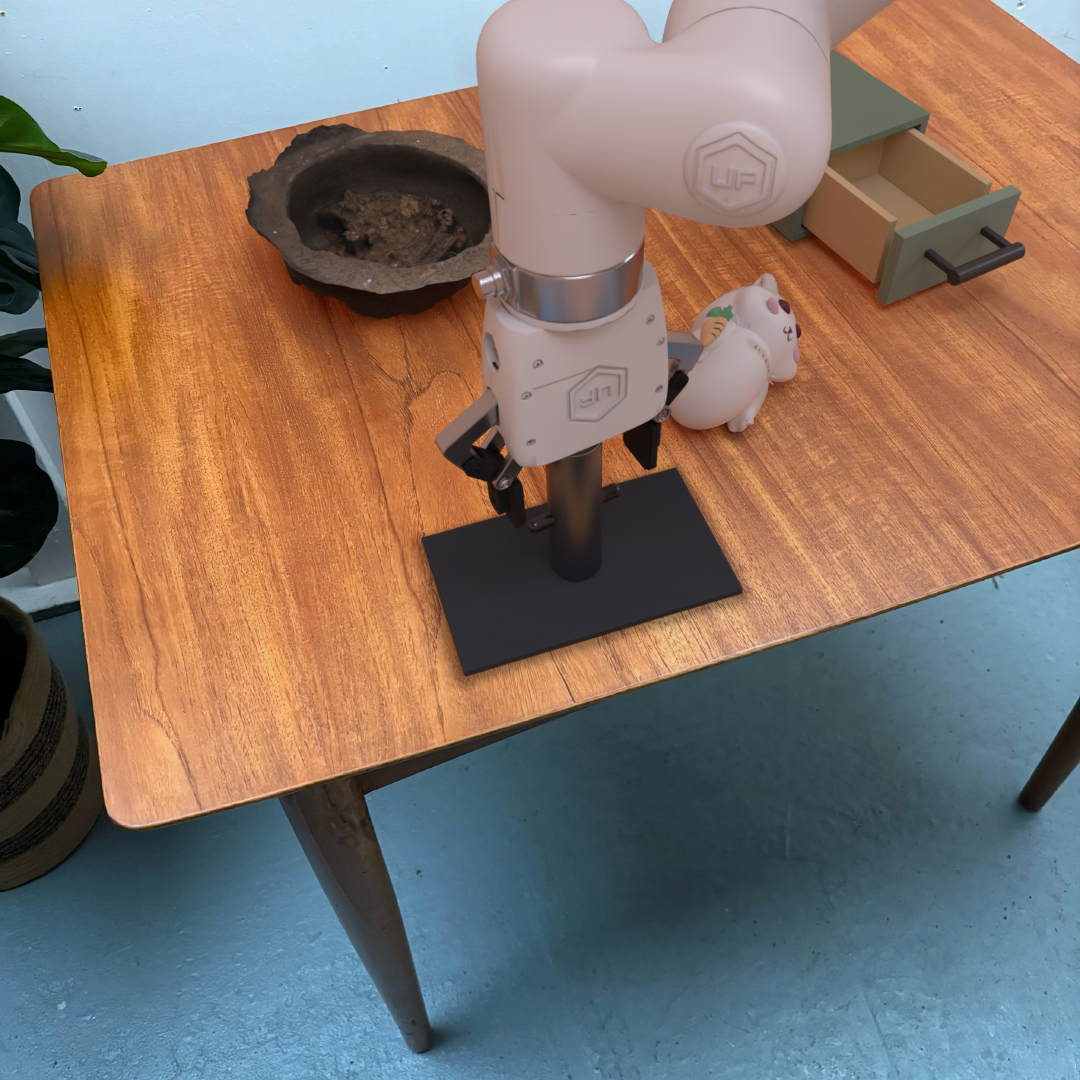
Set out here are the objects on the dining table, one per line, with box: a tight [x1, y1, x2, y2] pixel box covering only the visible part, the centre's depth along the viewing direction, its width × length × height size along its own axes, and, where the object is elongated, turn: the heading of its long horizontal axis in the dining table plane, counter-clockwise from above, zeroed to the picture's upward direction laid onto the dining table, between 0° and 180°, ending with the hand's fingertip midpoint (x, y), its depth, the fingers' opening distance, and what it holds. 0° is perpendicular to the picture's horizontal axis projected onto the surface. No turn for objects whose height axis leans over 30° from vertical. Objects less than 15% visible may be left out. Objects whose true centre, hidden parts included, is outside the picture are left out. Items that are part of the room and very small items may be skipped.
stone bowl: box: [244, 122, 493, 320], centre depth 91 cm, size 25×25×9 cm
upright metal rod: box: [527, 442, 622, 582], centre depth 67 cm, size 7×4×13 cm, turn 118°
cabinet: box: [769, 48, 931, 243], centre depth 97 cm, size 17×14×9 cm
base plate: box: [421, 467, 744, 677], centre depth 72 cm, size 20×12×1 cm, turn 108°
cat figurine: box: [669, 272, 802, 433], centre depth 79 cm, size 10×8×15 cm
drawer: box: [801, 127, 1026, 306], centre depth 88 cm, size 20×12×7 cm, turn 28°
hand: (576, 483), depth 65 cm, fingers open, 9 cm apart
